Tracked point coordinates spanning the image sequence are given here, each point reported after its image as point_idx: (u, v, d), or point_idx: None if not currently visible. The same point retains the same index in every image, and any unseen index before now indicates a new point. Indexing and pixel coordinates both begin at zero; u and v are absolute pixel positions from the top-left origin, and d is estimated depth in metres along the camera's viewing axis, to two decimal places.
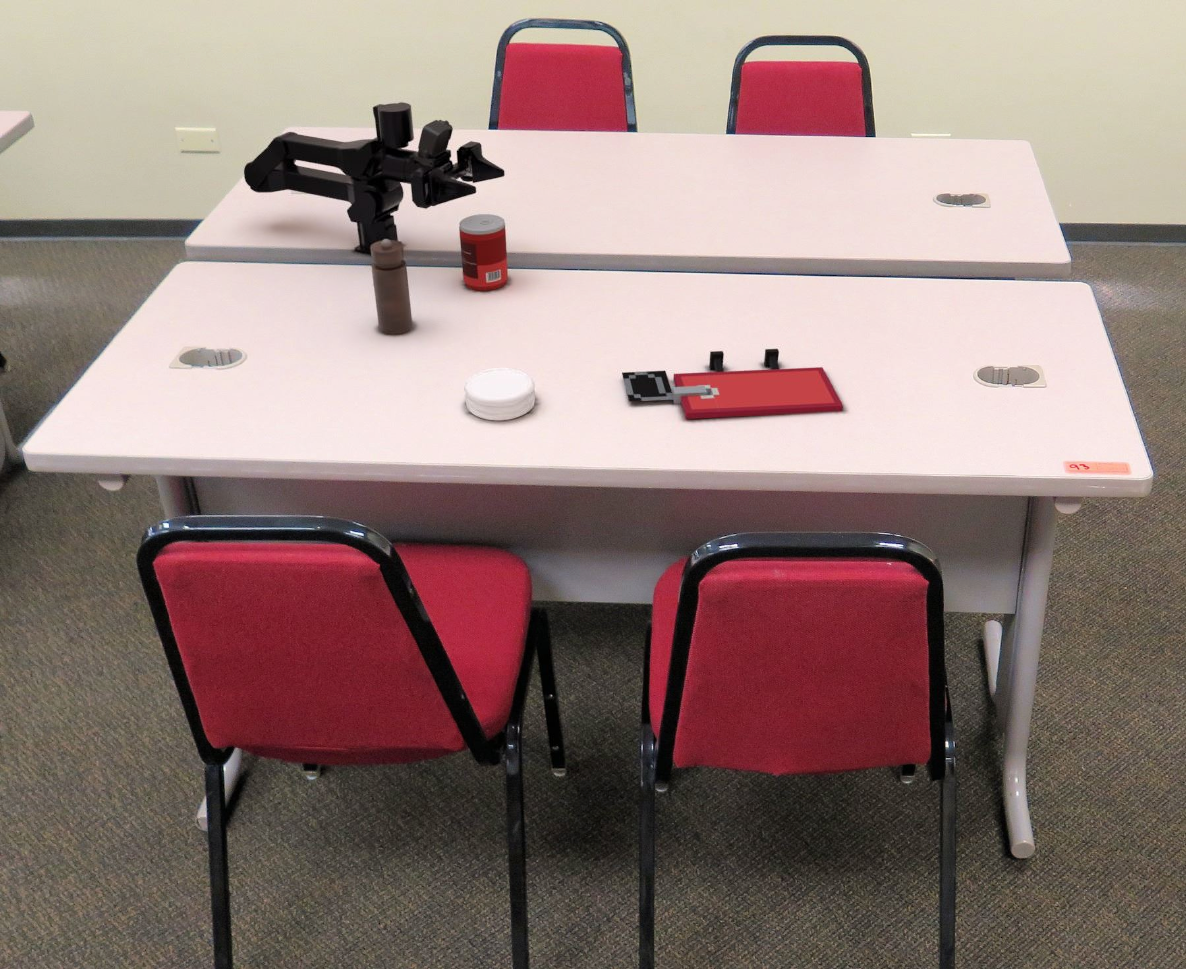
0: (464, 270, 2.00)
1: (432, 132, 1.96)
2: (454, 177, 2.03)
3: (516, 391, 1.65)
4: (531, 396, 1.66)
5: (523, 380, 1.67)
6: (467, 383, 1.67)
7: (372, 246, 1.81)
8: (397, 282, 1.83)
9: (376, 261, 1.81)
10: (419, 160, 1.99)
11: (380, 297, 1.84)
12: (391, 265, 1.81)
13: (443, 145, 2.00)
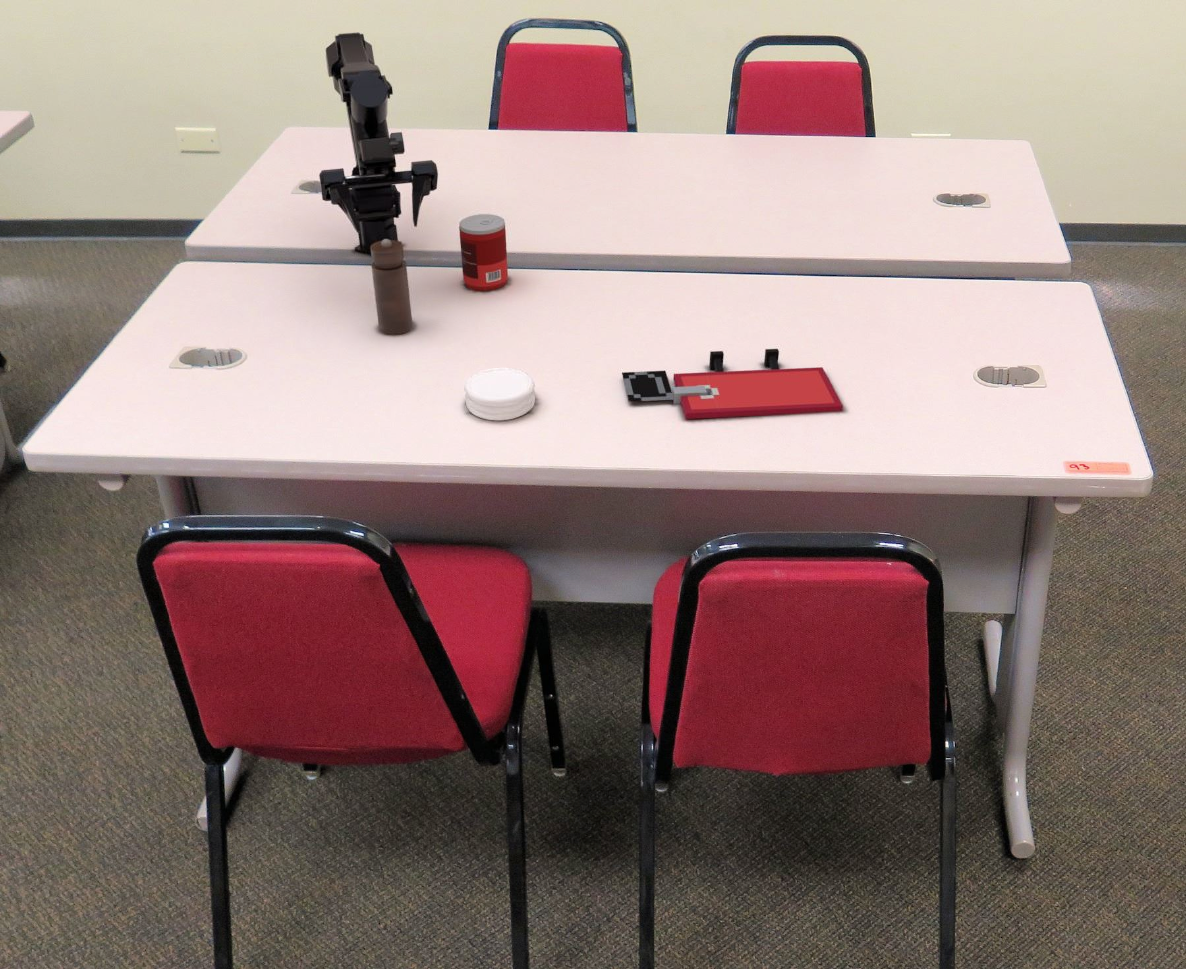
0: (464, 270, 2.00)
1: (363, 152, 1.82)
2: None
3: (516, 391, 1.65)
4: (531, 396, 1.66)
5: (523, 380, 1.67)
6: (467, 383, 1.67)
7: (372, 246, 1.81)
8: (397, 282, 1.83)
9: (376, 261, 1.81)
10: (358, 152, 1.87)
11: (380, 297, 1.84)
12: (391, 265, 1.81)
13: (384, 159, 1.86)
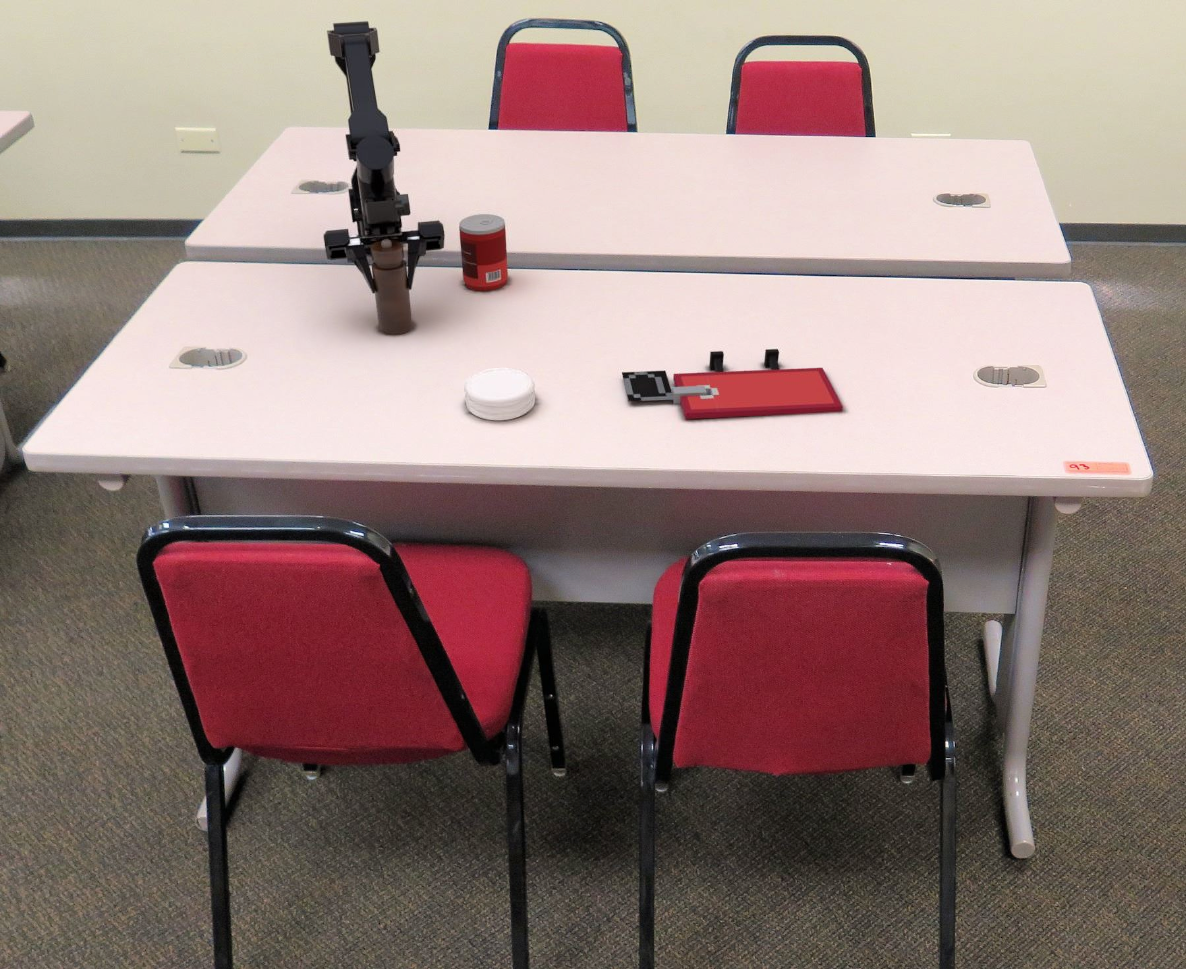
0: (464, 270, 2.00)
1: (368, 215, 1.78)
2: None
3: (516, 391, 1.65)
4: (531, 396, 1.66)
5: (523, 380, 1.67)
6: (467, 383, 1.67)
7: (372, 246, 1.81)
8: (397, 282, 1.83)
9: (376, 261, 1.81)
10: None
11: (380, 297, 1.84)
12: (391, 265, 1.81)
13: None
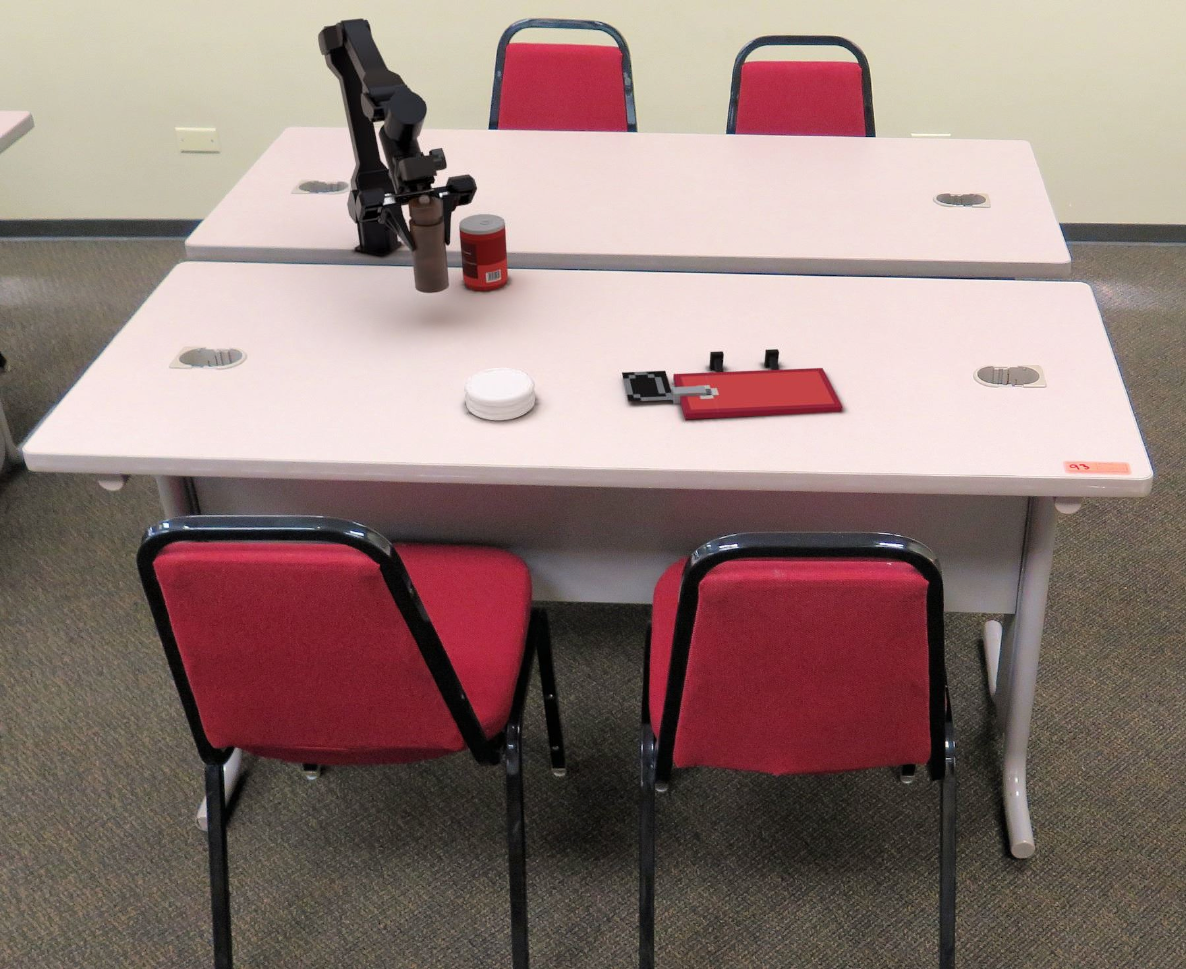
0: (464, 270, 2.00)
1: (407, 171, 1.76)
2: None
3: (516, 391, 1.65)
4: (531, 396, 1.66)
5: (523, 380, 1.67)
6: (467, 383, 1.67)
7: (410, 203, 1.79)
8: (438, 238, 1.81)
9: (416, 218, 1.79)
10: (394, 170, 1.81)
11: (420, 254, 1.82)
12: (431, 221, 1.80)
13: (425, 176, 1.80)
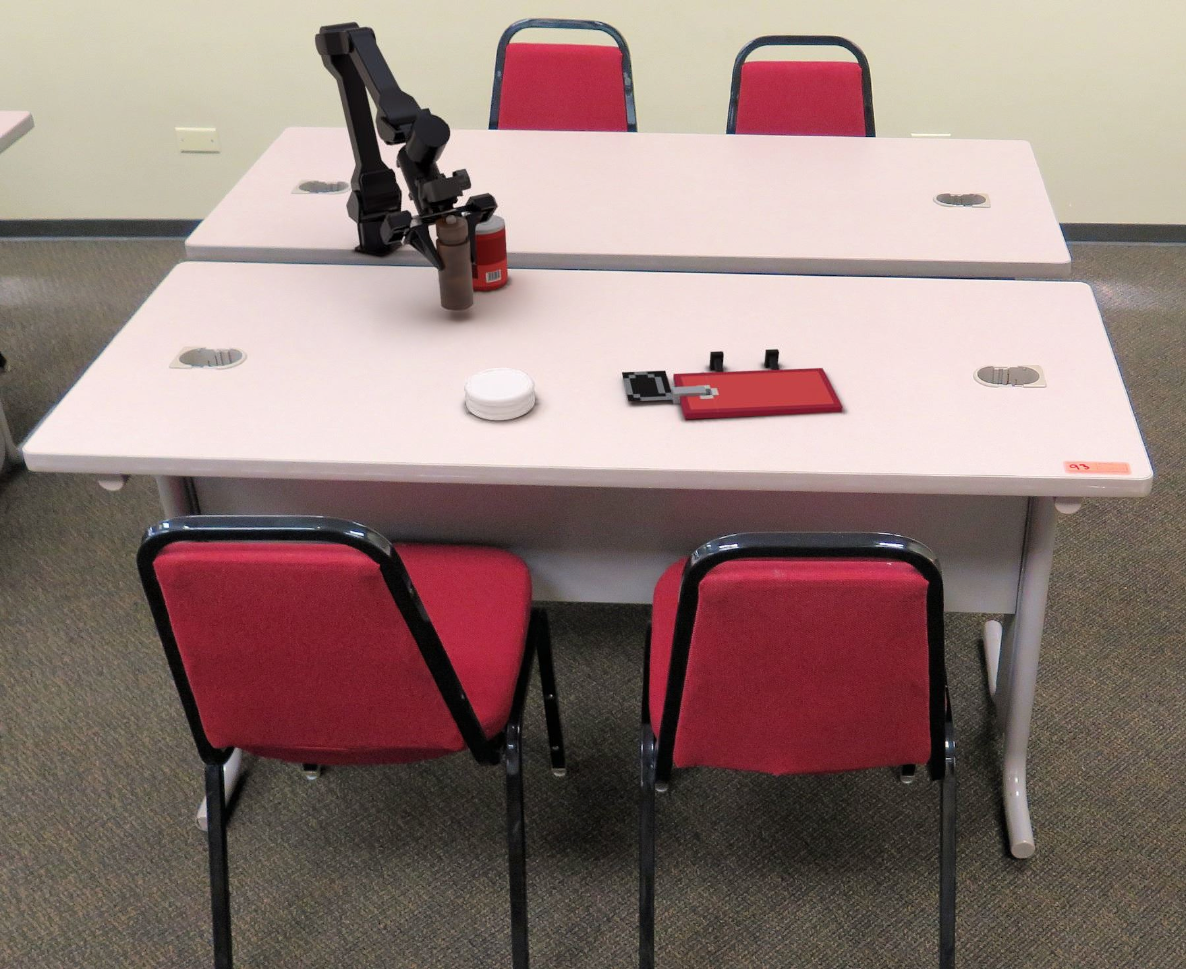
0: None
1: (436, 192, 1.80)
2: None
3: (516, 391, 1.65)
4: (531, 396, 1.66)
5: (523, 380, 1.67)
6: (467, 383, 1.67)
7: (437, 224, 1.83)
8: (466, 257, 1.85)
9: (445, 238, 1.83)
10: (418, 192, 1.84)
11: (448, 273, 1.86)
12: (459, 240, 1.84)
13: (449, 197, 1.84)
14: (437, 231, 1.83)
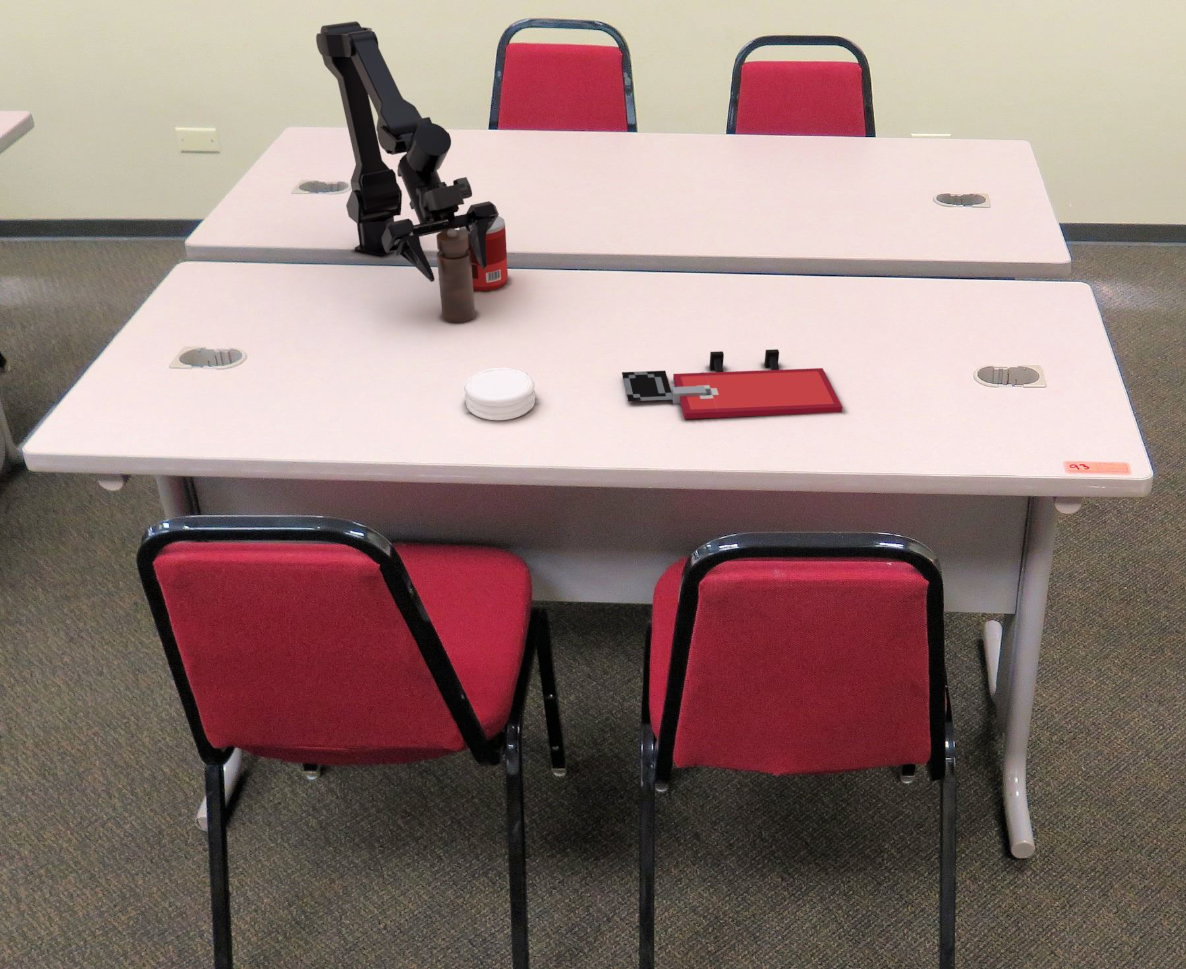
0: None
1: (437, 201, 1.80)
2: None
3: (516, 391, 1.65)
4: (531, 396, 1.66)
5: (523, 380, 1.67)
6: (467, 383, 1.67)
7: (438, 237, 1.84)
8: (466, 270, 1.86)
9: (446, 251, 1.84)
10: (419, 201, 1.85)
11: (450, 286, 1.87)
12: (460, 253, 1.85)
13: (451, 205, 1.85)
14: (438, 244, 1.84)
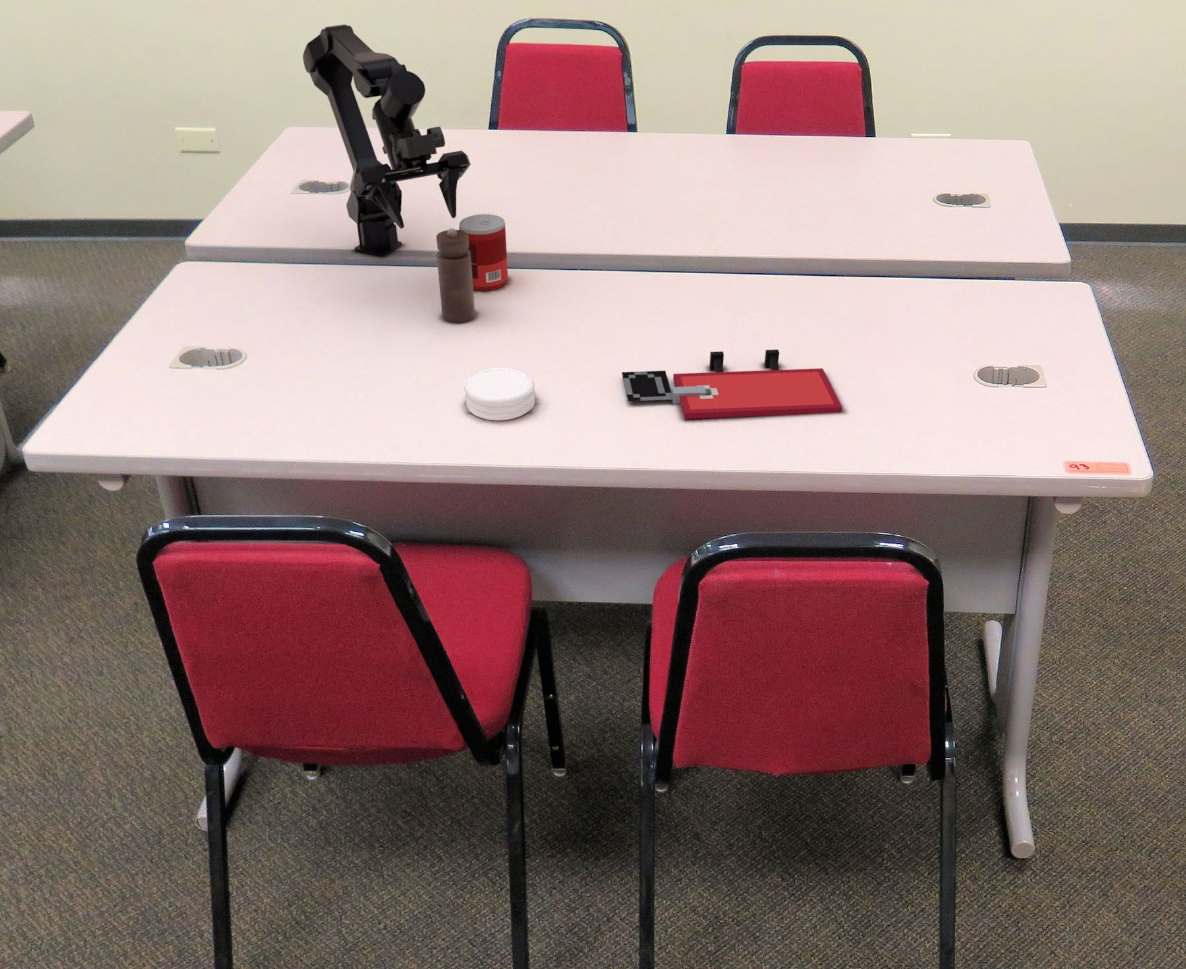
0: None
1: (410, 149, 1.83)
2: None
3: (516, 391, 1.65)
4: (531, 396, 1.66)
5: (523, 380, 1.67)
6: (467, 383, 1.67)
7: (438, 237, 1.84)
8: (466, 270, 1.86)
9: (446, 251, 1.84)
10: (392, 147, 1.87)
11: (450, 286, 1.87)
12: (460, 253, 1.85)
13: None
14: (438, 244, 1.84)
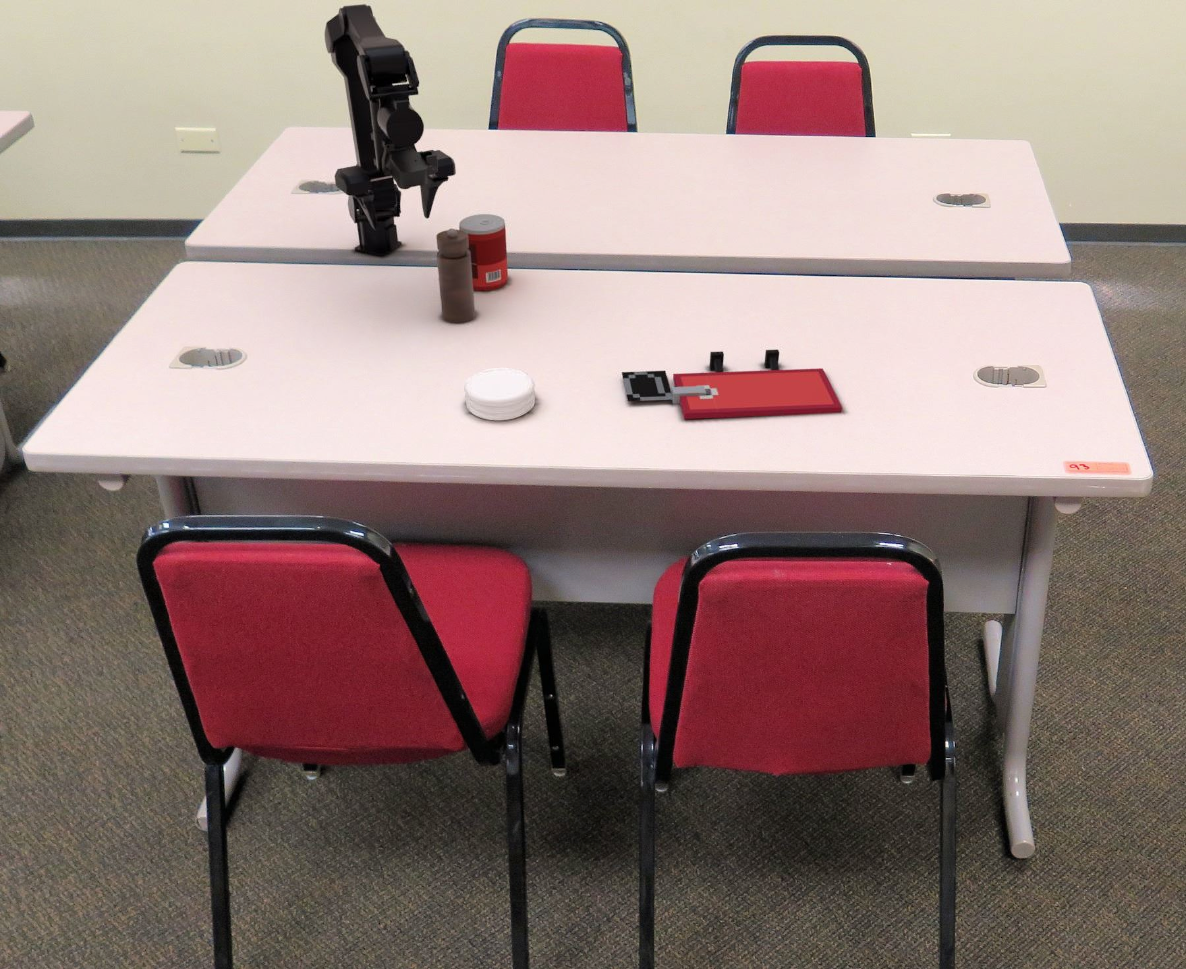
0: None
1: (401, 182, 1.80)
2: None
3: (516, 391, 1.65)
4: (531, 396, 1.66)
5: (523, 380, 1.67)
6: (467, 383, 1.67)
7: (438, 237, 1.84)
8: (466, 270, 1.86)
9: (446, 251, 1.84)
10: (383, 156, 1.82)
11: (450, 286, 1.87)
12: (460, 253, 1.85)
13: None
14: (438, 244, 1.84)
